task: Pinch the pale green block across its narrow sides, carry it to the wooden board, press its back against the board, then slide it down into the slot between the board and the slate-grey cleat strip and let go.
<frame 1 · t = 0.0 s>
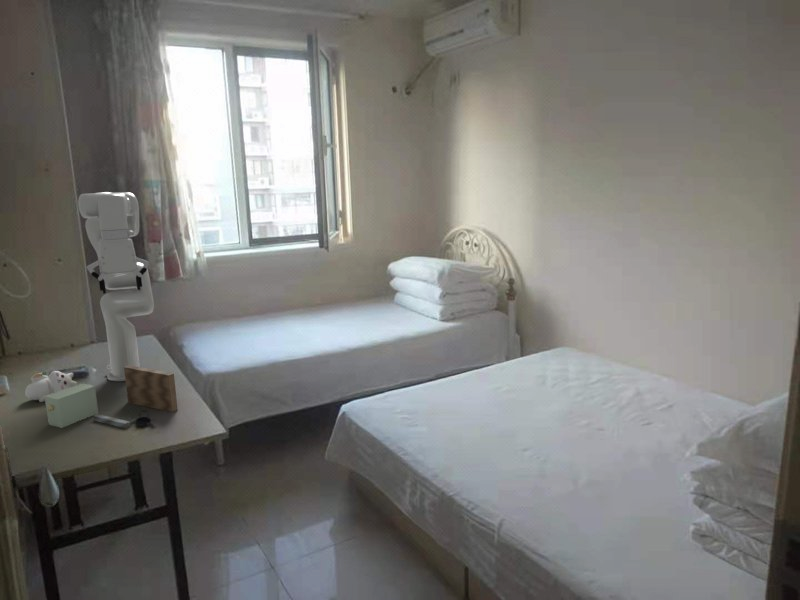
hand: (121, 291, 180), 37 cm above the table, tool pointing down, fingers open, 9 cm apart
cat figurine: (52, 397, 196), on the table
wooden board: (152, 406, 186), on the table
pale green block: (74, 419, 177), on the table
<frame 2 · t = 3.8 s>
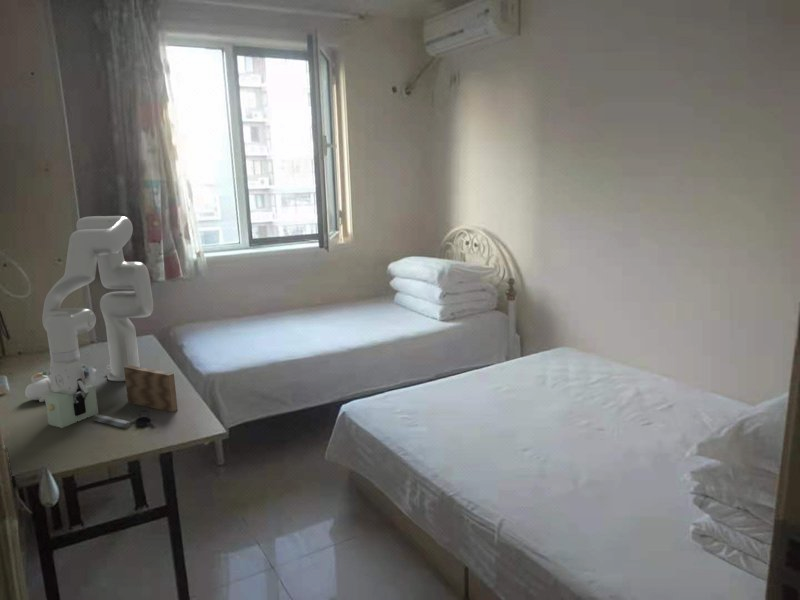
hand: (73, 411, 177), 2 cm above the table, tool pointing down, fingers closed on pale green block, 6 cm apart
pale green block: (74, 418, 177), on the table, touching gripper
everything else where it was.
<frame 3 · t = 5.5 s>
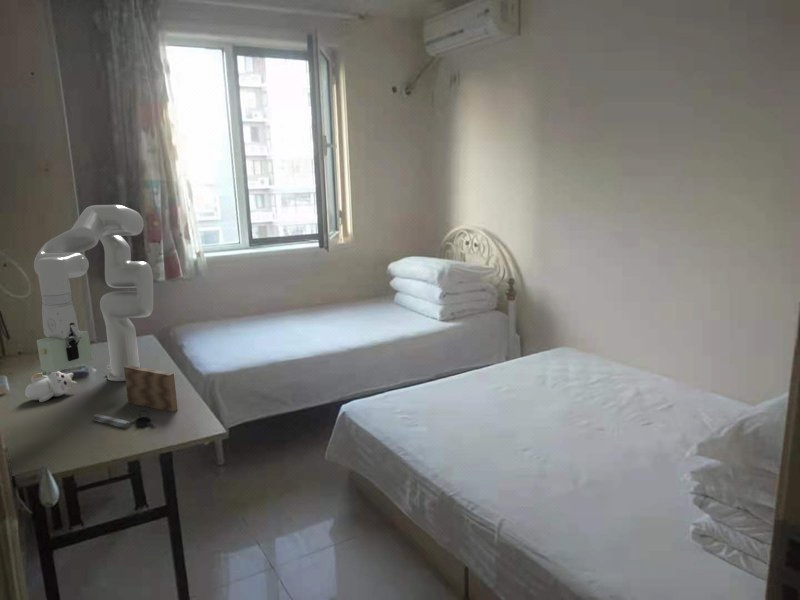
hand: (66, 357, 174), 19 cm above the table, tool pointing down, fingers closed on pale green block, 6 cm apart
pale green block: (67, 364, 174), point 17 cm above the table, touching gripper
everything else where it was.
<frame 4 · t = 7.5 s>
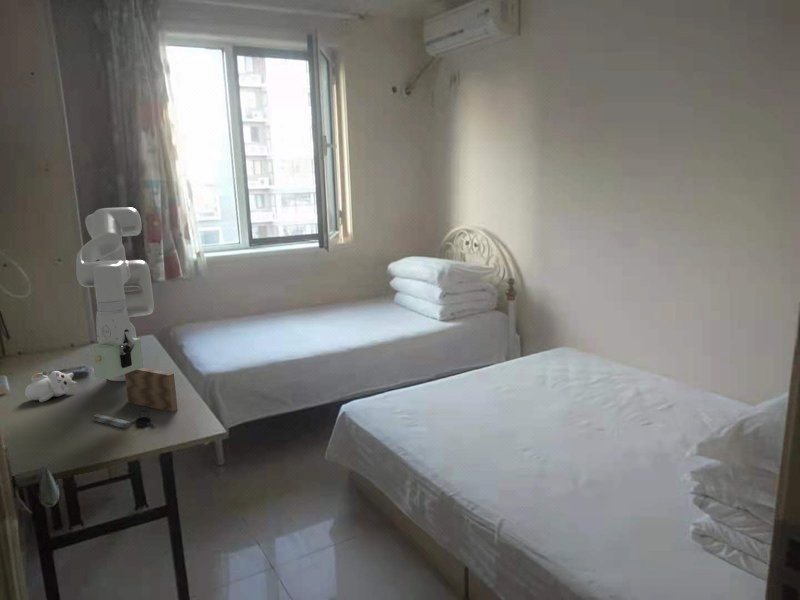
hand: (118, 364, 173), 17 cm above the table, tool pointing down, fingers closed on pale green block, 6 cm apart
pale green block: (119, 371, 174), point 15 cm above the table, touching gripper
everything else where it was.
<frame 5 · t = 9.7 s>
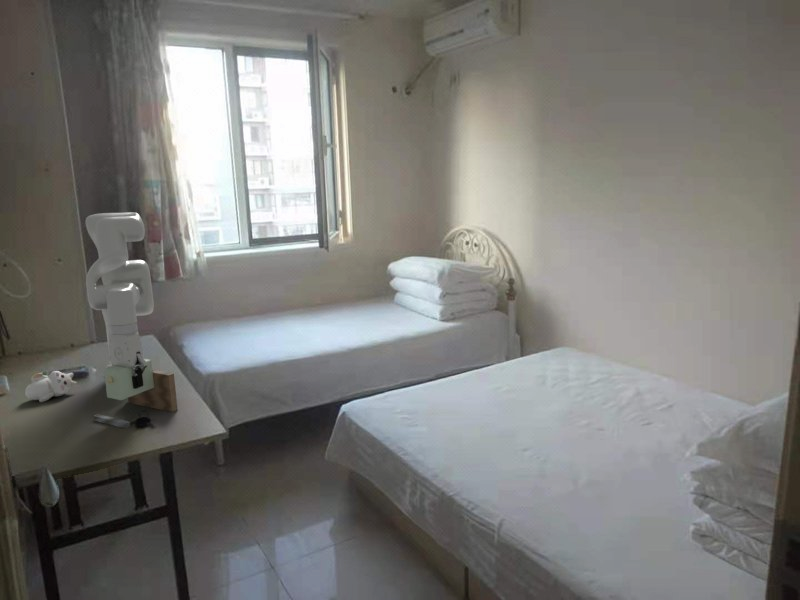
hand: (130, 385, 178), 9 cm above the table, tool pointing down, fingers closed on pale green block, 6 cm apart
pale green block: (131, 392, 178), point 7 cm above the table, touching gripper, wooden board
everything else where it was.
when the fingers open (3 cm above the table, at t = 11.4 s): pale green block drops 1 cm, on the table.
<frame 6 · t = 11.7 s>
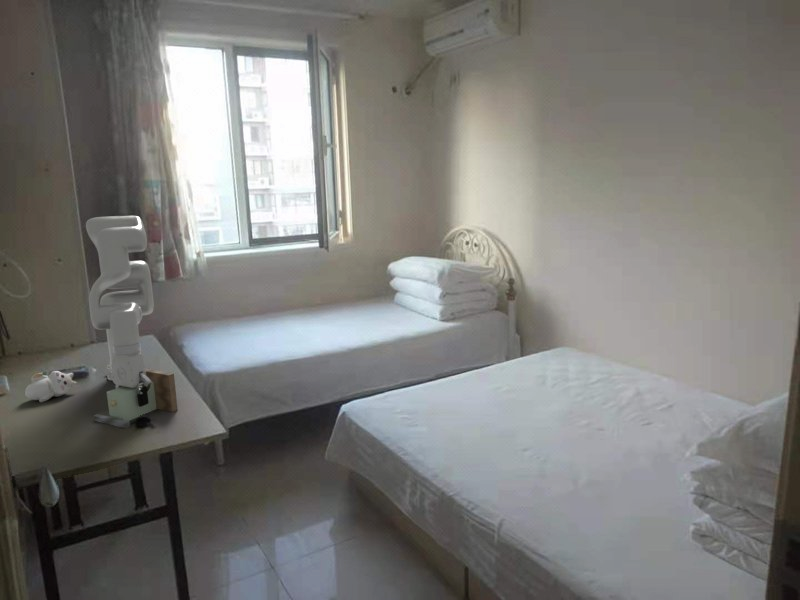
hand: (133, 402, 179), 4 cm above the table, tool pointing down, fingers open, 8 cm apart
pale green block: (133, 414, 180), on the table
everything else where it was.
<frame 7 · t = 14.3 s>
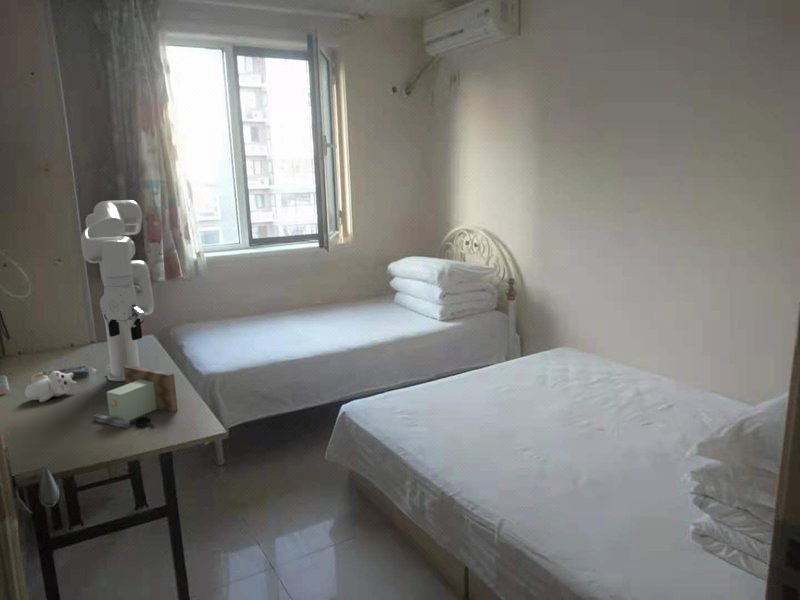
hand: (125, 337, 176), 24 cm above the table, tool pointing down, fingers open, 9 cm apart
nothing on the table moved.
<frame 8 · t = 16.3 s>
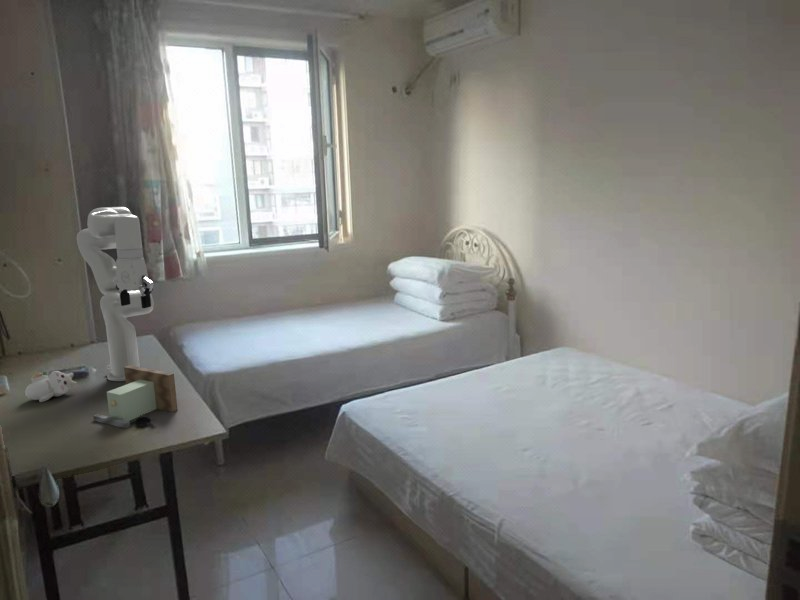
hand: (136, 306, 191), 30 cm above the table, tool pointing down, fingers open, 9 cm apart
nothing on the table moved.
at the end: pale green block inside the target area on the wooden board (0.5 cm from its centre), point 0.0 cm above the wooden board's base; pale green block tilted 0°; the gripper is holding nothing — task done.
